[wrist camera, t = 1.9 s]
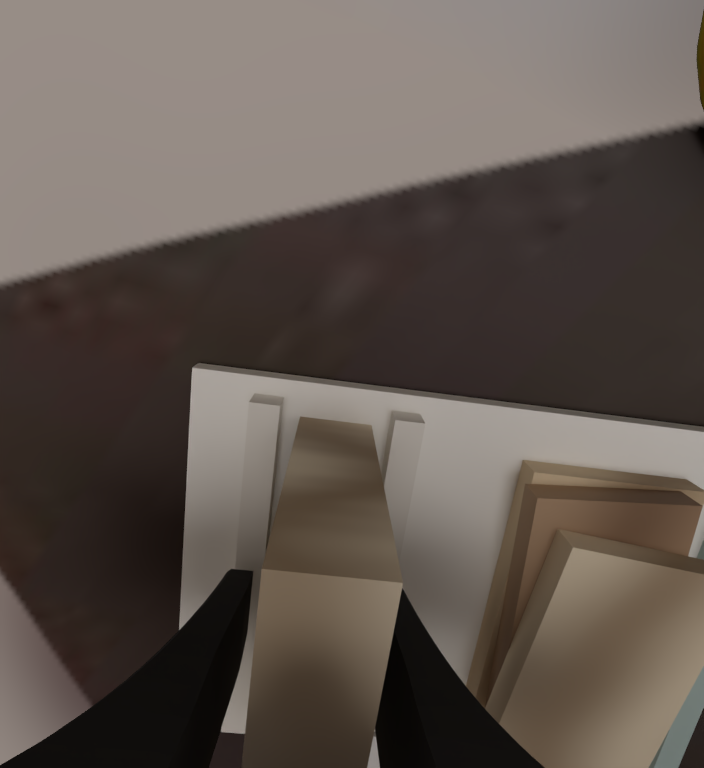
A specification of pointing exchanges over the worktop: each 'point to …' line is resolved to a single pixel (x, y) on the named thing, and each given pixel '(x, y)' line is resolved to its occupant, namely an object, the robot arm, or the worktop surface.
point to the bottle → (701, 61)
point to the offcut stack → (592, 615)
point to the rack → (403, 492)
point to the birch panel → (324, 606)
